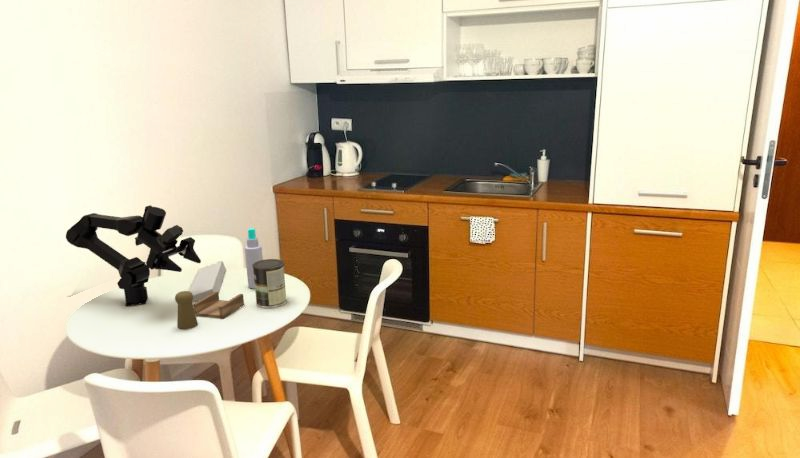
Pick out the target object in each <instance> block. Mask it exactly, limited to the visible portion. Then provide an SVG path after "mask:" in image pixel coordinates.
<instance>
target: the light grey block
mask: <svg viewBox="0 0 800 458" xmlns="http://www.w3.org/2000/svg"><path fill="white" fill-rule="evenodd" d="M226 272H227V268H226V266H225V264H224V262H223V260H220V261H216V262H215V263H212V264H209V265H205V266H203V267H201V268H198V269H197V271H196V273H195V275H194V277H193V279H192V281H191V283H190V285H189V288H188V289H187V291H189V292H191V293H192V295H193V300H192V304H194V303H196V302H198V301H200V300H201V299H203V298H205V297H207V296H208V295H210V294H212V293H214V292H218V294H220V292H221V287H222V284H223V282H224V279H225V276H226ZM224 275H225V276H224ZM223 278H224V279H223Z"/></svg>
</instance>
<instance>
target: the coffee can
mask: <svg viewBox="0 0 800 458" xmlns="http://www.w3.org/2000/svg"><path fill="white" fill-rule="evenodd" d="M252 266H253V272H254V283H255V289H254V291H255V305H256V306H257V307H258V308H261V309H274V308H279V307H282V306H284V305H285V304H286V303H287V301H288V300H287V293H286V292H287V291H286V280H285V262H284V260H282V259H278V258H277V259H276V258H268V259H267V258H266V259H263V260H261V261H257V262H255V263H254V264H253V265H252Z"/></svg>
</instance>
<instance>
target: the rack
mask: <svg viewBox="0 0 800 458" xmlns="http://www.w3.org/2000/svg"><path fill="white" fill-rule="evenodd" d="M219 294H220V293H219ZM219 294H218V292H214V293H212V294H210V295H208V296H207V297H205V298H203V299H201V300H199V301H198V302H193V303H192V304H193V308H194V312H195V315H196V317H204V318H210V319H211V318H212V319H221V320H223V319H225V318H227V317H229V316H231V315H232V314H234V312H236V311H238V310H239V309H240V307H241V308H243V307H244V306H245V301H244V300H245V299H244V294H243V293H239V294H237V295H236V296H234V297H232V298H231V299H229V300H223V299H220V296H219ZM243 305H244V306H243Z"/></svg>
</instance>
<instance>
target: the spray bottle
mask: <svg viewBox="0 0 800 458" xmlns="http://www.w3.org/2000/svg"><path fill="white" fill-rule="evenodd" d="M247 234H248V235H247V236H248V237H247V238H246V246H244V254H245V266H246V275H247V285H248V288H250V289H251V288H252V289H253V290H255V283H254V272H253V266H252V265H253V264H254V263H255V262H257V261H261V260H264V257H263V249H262V248H263V247H262V245H261V244H259V238H258V237H257V236H256V229H255V228H253V227H252V228H248V229H247Z"/></svg>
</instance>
